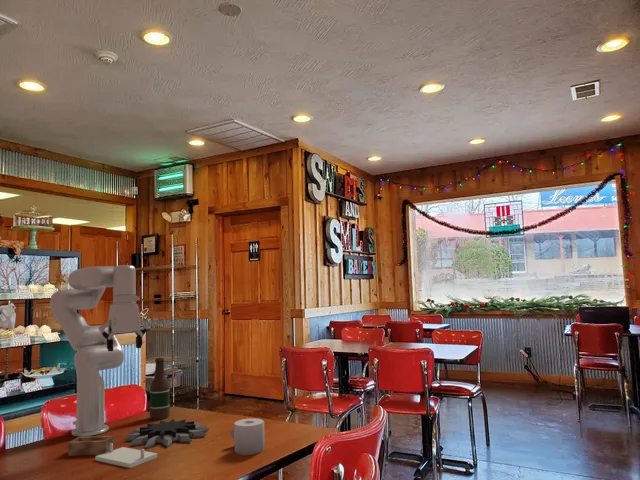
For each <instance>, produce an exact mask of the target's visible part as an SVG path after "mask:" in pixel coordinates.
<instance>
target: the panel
mask: <svg viewBox="0 0 640 480" xmlns="http://www.w3.org/2000/svg"><path fill="white" fill-rule="evenodd" d="M157 458H158V453H157V452H151V451H146V450H145V448H141V449H136V448H131V447H125V446H122V447H119V448H116V449H113V443H110V452H107V453H104V454H101V455H95V461H97V462H101V463H105V464H110V465H115V466H121V467H123V468H129V469H131V468H135V467H136V466H137V467H138V466H139V465H143V464H144V463H146V462H149V461H152V460H156V459H157Z"/></svg>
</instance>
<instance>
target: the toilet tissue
mask: <svg viewBox="0 0 640 480" xmlns="http://www.w3.org/2000/svg"><path fill="white" fill-rule="evenodd" d="M228 433H229V434H230V436H231V437H232V439H233V441H234V443H233V445H234V448H233V449H234V453H236V454H237V455H241V456H250V455H257V454H259V453H263V452H262V451H264V450H265V446H266V445H265V444H266V443H265V442H266V441H265V421H264V420H263V419H262V418H243V419H239V420H236V421H235V422H234V423H233V429H232V430H230V431H229V432H228Z"/></svg>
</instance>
